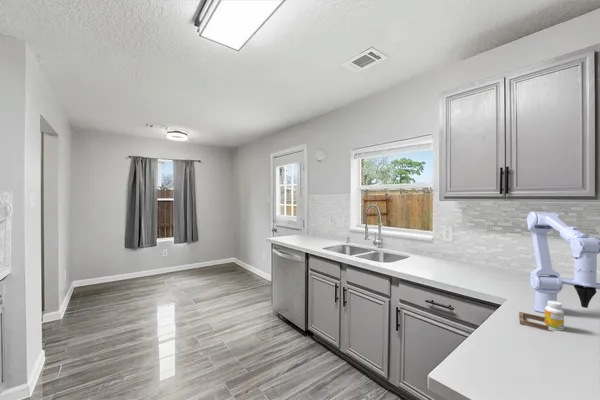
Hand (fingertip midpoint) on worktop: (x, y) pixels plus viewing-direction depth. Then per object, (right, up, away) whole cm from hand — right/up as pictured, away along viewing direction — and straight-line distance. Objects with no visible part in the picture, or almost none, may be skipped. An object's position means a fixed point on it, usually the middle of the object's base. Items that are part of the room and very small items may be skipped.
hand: (584, 306), depth 99 cm
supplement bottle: (-6, -10, +5) cm, 13 cm away
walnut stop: (-11, -10, +8) cm, 17 cm away
